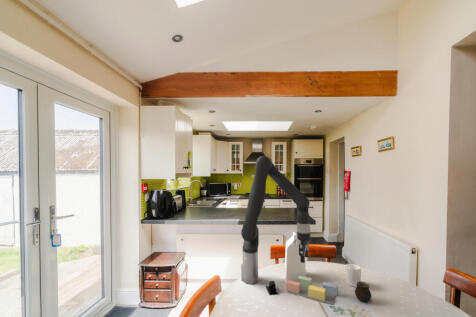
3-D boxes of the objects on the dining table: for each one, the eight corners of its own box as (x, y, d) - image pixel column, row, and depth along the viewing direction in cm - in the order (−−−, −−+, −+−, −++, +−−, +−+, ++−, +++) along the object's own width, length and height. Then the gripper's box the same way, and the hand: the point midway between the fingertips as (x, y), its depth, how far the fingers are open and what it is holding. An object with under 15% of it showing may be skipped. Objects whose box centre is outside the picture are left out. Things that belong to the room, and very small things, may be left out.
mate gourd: (362, 294, 116) (361, 275, 116) (375, 303, 108) (375, 282, 109) (351, 297, 113) (351, 277, 113) (364, 306, 106) (364, 285, 106)
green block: (297, 285, 124) (297, 278, 125) (299, 282, 127) (299, 275, 128) (310, 288, 121) (310, 281, 121) (311, 285, 124) (311, 278, 124)
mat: (288, 292, 118) (288, 291, 118) (295, 281, 129) (295, 281, 129) (333, 305, 107) (333, 304, 107) (335, 292, 118) (335, 291, 118)
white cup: (346, 286, 124) (346, 268, 124) (345, 279, 131) (345, 262, 132) (362, 289, 121) (361, 270, 122) (360, 282, 128) (359, 264, 129)
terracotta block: (285, 289, 120) (285, 282, 120) (287, 286, 123) (287, 279, 123) (298, 293, 116) (298, 285, 116) (300, 290, 119) (300, 282, 120)
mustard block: (308, 296, 114) (308, 288, 114) (309, 292, 117) (309, 284, 117) (324, 300, 110) (324, 292, 110) (325, 296, 113) (325, 288, 113)
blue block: (322, 292, 117) (322, 284, 118) (323, 289, 120) (323, 281, 121) (337, 295, 114) (336, 287, 114) (337, 292, 117) (337, 284, 117)
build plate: (281, 297, 115) (281, 288, 115) (268, 298, 114) (267, 289, 114) (275, 284, 127) (275, 276, 127) (263, 285, 126) (263, 277, 126)
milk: (285, 271, 143) (284, 230, 144) (303, 272, 141) (302, 231, 142) (286, 280, 131) (285, 236, 132) (306, 281, 129) (305, 236, 131)
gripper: (300, 227, 134) (300, 254, 133) (293, 233, 122) (294, 263, 121) (312, 228, 130) (313, 256, 129) (307, 235, 118) (308, 265, 117)
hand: (304, 259), depth 125 cm, fingers open, 8 cm apart
